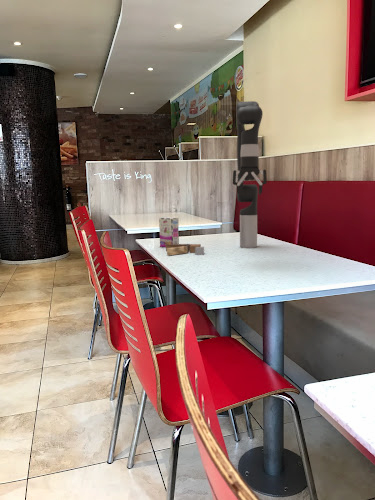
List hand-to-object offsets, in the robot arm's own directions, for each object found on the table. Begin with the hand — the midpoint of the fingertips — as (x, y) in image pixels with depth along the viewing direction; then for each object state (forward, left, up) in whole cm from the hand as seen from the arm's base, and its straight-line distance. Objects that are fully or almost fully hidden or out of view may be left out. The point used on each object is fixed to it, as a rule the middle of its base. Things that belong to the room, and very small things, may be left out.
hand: (249, 194), depth 183 cm
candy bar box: (-43, -43, -30) cm, 68 cm away
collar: (-21, -24, -29) cm, 43 cm away
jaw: (-20, -35, -29) cm, 50 cm away
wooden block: (-28, -34, -29) cm, 52 cm away
